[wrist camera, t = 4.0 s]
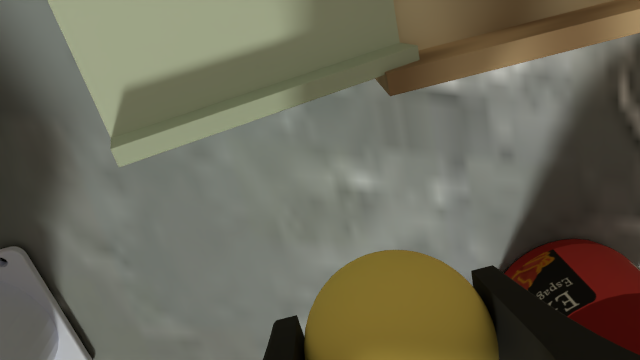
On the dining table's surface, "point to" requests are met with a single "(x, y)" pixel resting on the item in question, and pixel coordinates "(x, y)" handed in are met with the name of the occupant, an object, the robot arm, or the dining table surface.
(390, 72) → the lane
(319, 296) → the ball
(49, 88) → the dining table surface
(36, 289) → the robot arm
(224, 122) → the ramp
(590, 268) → the canned food
